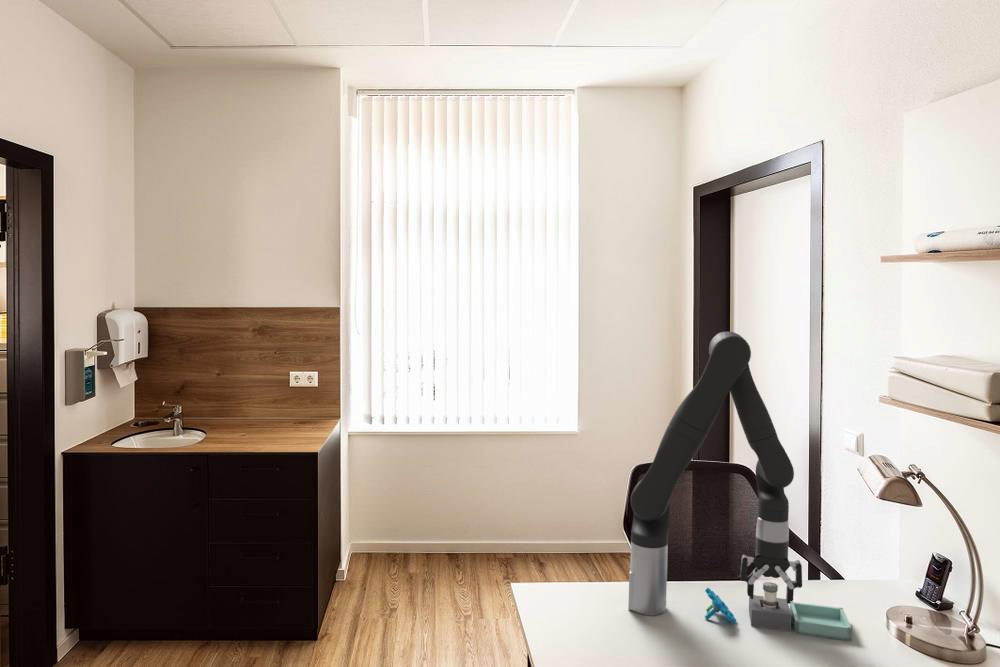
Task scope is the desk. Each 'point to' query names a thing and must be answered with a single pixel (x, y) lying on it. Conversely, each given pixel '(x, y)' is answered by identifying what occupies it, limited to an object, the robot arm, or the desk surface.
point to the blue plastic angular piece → (718, 607)
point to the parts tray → (820, 621)
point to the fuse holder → (770, 614)
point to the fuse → (770, 594)
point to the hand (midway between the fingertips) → (769, 600)
